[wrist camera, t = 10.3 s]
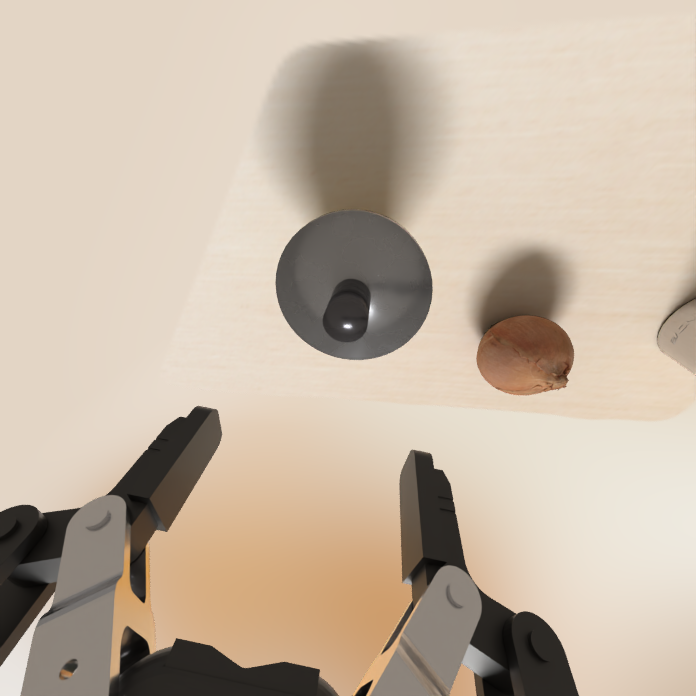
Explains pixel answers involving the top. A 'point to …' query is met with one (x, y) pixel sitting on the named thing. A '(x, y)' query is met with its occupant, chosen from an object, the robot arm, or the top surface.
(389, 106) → the top surface
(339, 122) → the top surface
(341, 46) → the top surface
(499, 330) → the onion
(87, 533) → the robot arm
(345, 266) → the lid
